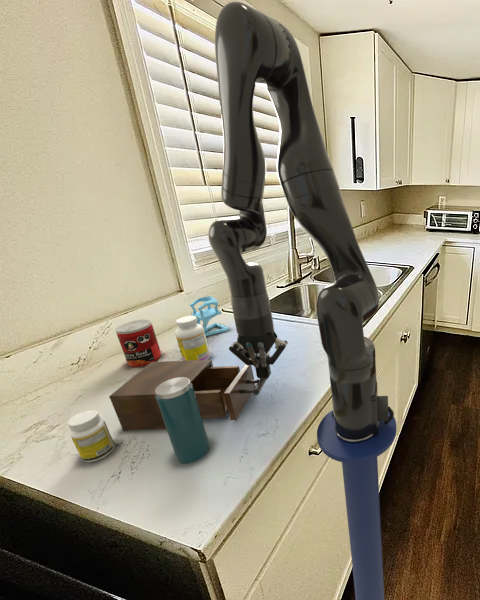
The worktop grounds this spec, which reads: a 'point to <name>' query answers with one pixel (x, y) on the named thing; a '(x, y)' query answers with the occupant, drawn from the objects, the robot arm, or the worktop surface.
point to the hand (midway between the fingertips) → (264, 378)
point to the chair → (207, 314)
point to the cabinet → (151, 392)
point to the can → (182, 419)
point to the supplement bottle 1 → (91, 436)
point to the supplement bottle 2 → (191, 339)
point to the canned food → (138, 342)
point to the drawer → (225, 390)
